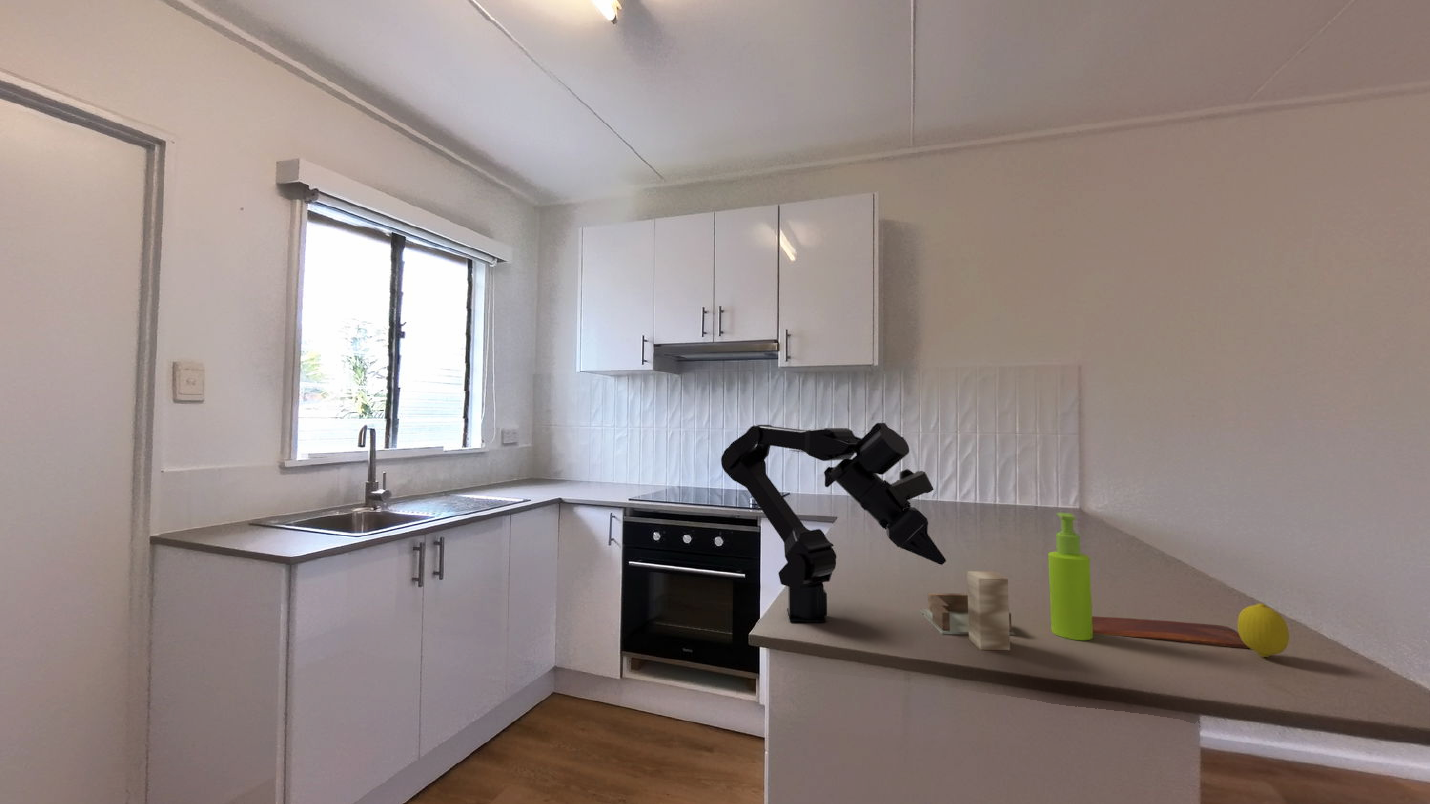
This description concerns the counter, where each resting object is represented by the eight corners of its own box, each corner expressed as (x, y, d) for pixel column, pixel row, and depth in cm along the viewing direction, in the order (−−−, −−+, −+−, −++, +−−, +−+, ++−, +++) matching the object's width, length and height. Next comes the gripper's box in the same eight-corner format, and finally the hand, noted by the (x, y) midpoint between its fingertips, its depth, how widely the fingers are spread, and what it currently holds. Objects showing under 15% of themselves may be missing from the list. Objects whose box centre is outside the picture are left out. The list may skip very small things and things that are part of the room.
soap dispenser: (1088, 628, 95) (1082, 511, 96) (1096, 642, 89) (1090, 517, 90) (1048, 623, 97) (1044, 510, 98) (1053, 637, 91) (1049, 515, 92)
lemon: (1296, 668, 79) (1293, 612, 79) (1244, 660, 82) (1241, 605, 82) (1283, 655, 84) (1280, 601, 84) (1234, 647, 86) (1231, 595, 87)
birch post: (980, 649, 86) (978, 578, 87) (968, 638, 91) (967, 571, 91) (1010, 650, 86) (1007, 578, 86) (996, 639, 90) (994, 571, 91)
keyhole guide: (941, 634, 93) (941, 613, 93) (919, 611, 104) (919, 593, 104) (1014, 635, 92) (1014, 614, 92) (984, 612, 104) (983, 593, 104)
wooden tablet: (1229, 632, 95) (1228, 622, 95) (1265, 655, 85) (1264, 644, 85) (1052, 616, 103) (1052, 606, 103) (1067, 634, 94) (1067, 624, 94)
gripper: (910, 457, 83) (991, 532, 81) (893, 452, 102) (959, 513, 99) (858, 508, 84) (936, 584, 82) (850, 494, 103) (914, 556, 100)
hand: (937, 556), depth 91 cm, fingers open, 9 cm apart
